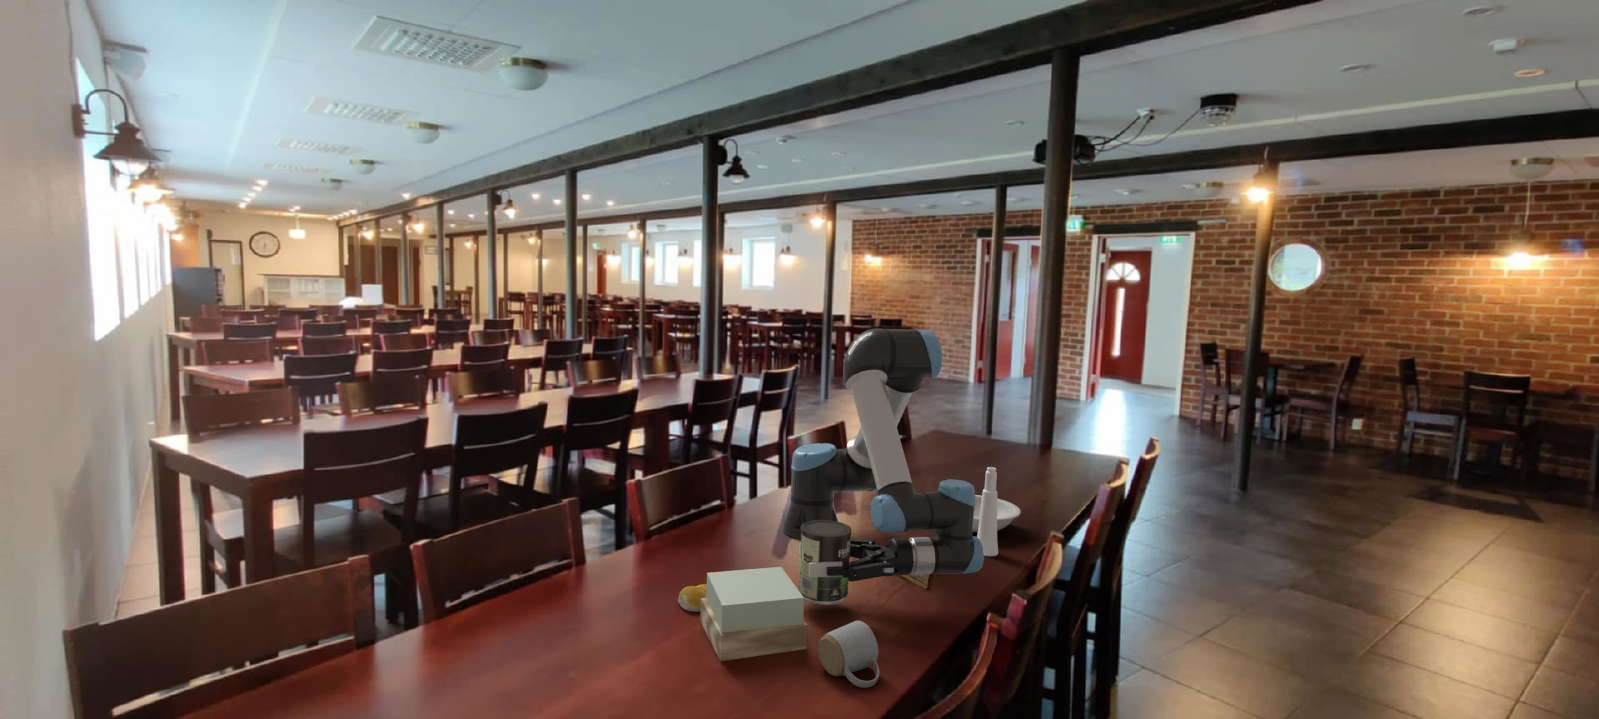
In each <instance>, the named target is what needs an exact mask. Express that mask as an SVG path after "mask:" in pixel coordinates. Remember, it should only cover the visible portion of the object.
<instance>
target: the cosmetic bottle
mask: <svg viewBox="0 0 1599 719" xmlns="http://www.w3.org/2000/svg"><path fill="white" fill-rule="evenodd" d="M997 476H998V473H997V468H996V467H993V466H989V467H988V466H987V467H986V471H985V478H984V479H985V480H984V488H983V490H982V492H981V494H982V495H981V496H982V501H981V510H980V519H979V527H978V532H977V535H976V537H977V538H978V539H979V540H980V541H981V543H982V546H983V554H984V557H996V556H998V554H999V547H998V531H997V499H998V491H997V479H998V478H997Z"/></svg>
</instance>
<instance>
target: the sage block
mask: <svg viewBox="0 0 1599 719" xmlns="http://www.w3.org/2000/svg"><path fill="white" fill-rule="evenodd" d="M706 584H707V592H706V598H707V600H708V603H709V605H710V607H711V610H712V612H713V614H714V617H715V619H716V621H717V624H718V626H719V628H720V631H721V633H726V632H735V631H744V630H754V629H763V628H773V627H782V626H791V625H801V624H803V620H804V608H805V607H804V606H805V605H804V603H805V600H804V597H803V596H802V594H801V593H800V592H799V588H798V587H797V586H796V585H795V583H794V582H793V581H792V580H791V578H790V576H789V575H788V573H787V572H785V569H784V568H783V567H782V566H776V567H764V568H763V567H760V568H749V569H738V570H726V571H715V572H714V571H713V572H707V573H706Z"/></svg>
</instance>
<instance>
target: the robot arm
mask: <svg viewBox="0 0 1599 719" xmlns="http://www.w3.org/2000/svg"><path fill="white" fill-rule="evenodd" d="M942 353H943V352H942V346H941V343H940V341H939V339H938V337H937V336H936V334H935V333H933V331H931V330H926V329H919V328H915V329H904V328H903V329H901V328H900V329H899V328H898V329H897V328H872V329H871V328H870V329H867V330H865V331H863V332H861V333H860V334H858V336H857V337H855V338H854V339H853V341H852V342H850V345H849V347H848V349H847V351H846V353H845V357H844V359H843V360H844V361H843V372H842V374H843V380H844V382H845V383H844V384H845V388H846V390H847V391H848V392H850V393H852V397H853V401H854V404H855V409H856V413H857V416H858V417H857V418H858V421H859V424H860V427H859V429H858V433H857V435H855V436H853V437H851V438H850V439H849V441H848V442H847V444H846V447H845V448H837V447H836V445H834V444H832V443H828V442H827V443H826V442H824V443H821V442H819V443H810V444H805V445H801V446H799V447H798V448H796V449H795V450H794V451H793V453H792V461H791V465H790V468H791V478H790V479H791V481H790V482H791V483H790V486H791V487H790V503H789V506H788V509H787V512H786V514H785V517H784V519H783V523H782V524H783V525H782V532H783V533H784V534H786V535H787V536H789V537H791V538H793V539H794V538H795V539H798V540H801V525H802V524H804V523H806V522H809V521H814V520H831V521H837V522H839V519H838V515H837V512H836V509H835V508H836V507H835V504H834V502H835V501H834V500H835V494H836V493H851V492H852V493H854V492H872V491H877V496H874V497H873V499H872V501H871V504H870V511H871V513H870V519H871V522H872V525H873V526H874V528H875V529H876V530H877V531H878V532H879V533H882V534H883V533H885V534H886V533H892V534H893V533H895V534H899V533H900V534H901V533H905V532H906V533H907V532H914V531H916V532H917V531H928V530H935V533H936V534H935V535H936V536H932V537H931V536H916V537H913V536H912V537H909V538H907V537H893V538H890V539H889V540H888V542H887V544H886V545H885V546H884V545H881V544H877V540H875V539H859V538H858V539H857V538H856V539H855V538H851V540H850V558H855V560H853V561H849V562H847V561H845V560H844V562H843V566H842V562H811V563H809V577H834V576H843V577H844V578H848V582H850V583H851V582H858V581H863V580H869V579H875V578H876V579H877V578H882V577H894V576H896V577H897V576H899V575H909V574H910V573H911V574H912V575H919V576H923V574H929V575H945V574H946V575H948V574H949V575H950V574H951V575H952V574H953V575H956V574H957V575H962V574H963V575H964V574H972V573H976V572H979V571H980V570H981V569H982V567H983V565H984V561H985V556H984V554H983V546H982V543H981V541H980V540H979V539H978V538H977V536H973V534H974V532H972V529H973V518H974V508H975V495H976V489H975V486H974V485H973V484H972V483H970V482H968V481H965V480H960V479H953V478H952V479H951V478H949V479H945V480H942V481H940V482H939V484H938V488H937V491H930V492H916V491H915V488H914V485H913V482H912V481H913V480H912V477H911V474H910V470H909V467H908V462H907V460H906V456H905V452H904V449H903V445H902V442H901V437H900V434H899V430H898V425H899V423H900V421H901V418H902V417H903V414H904V412H905V409H906V407H907V405H908V403H909V401H910V398H911V396H912V394H915V393H918V392H919V391H920V390H921V388H923V385H924V383H925V381H926V379H929V380H932V379H935V378H937V377H938V376H939V375H940V373H941V371H942V366H943V354H942ZM798 546H799V547H798V548H799V549H798V557H800V554H801V542H799V544H798ZM899 577H900V576H899Z"/></svg>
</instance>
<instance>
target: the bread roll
mask: <svg viewBox="0 0 1599 719" xmlns="http://www.w3.org/2000/svg"><path fill="white" fill-rule="evenodd" d="M706 592H707V583H703V584H699V585H697V586H695V585H692V586H691V585H689V586H686V587H683V588H682V589H681V591H679V593H678V594H679V596H678V599H677V602H678V604H679V605H680V607H681V608H682V609H683V610H686V612H687V611H688V612H697V613H698V612H701V598H706Z"/></svg>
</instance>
